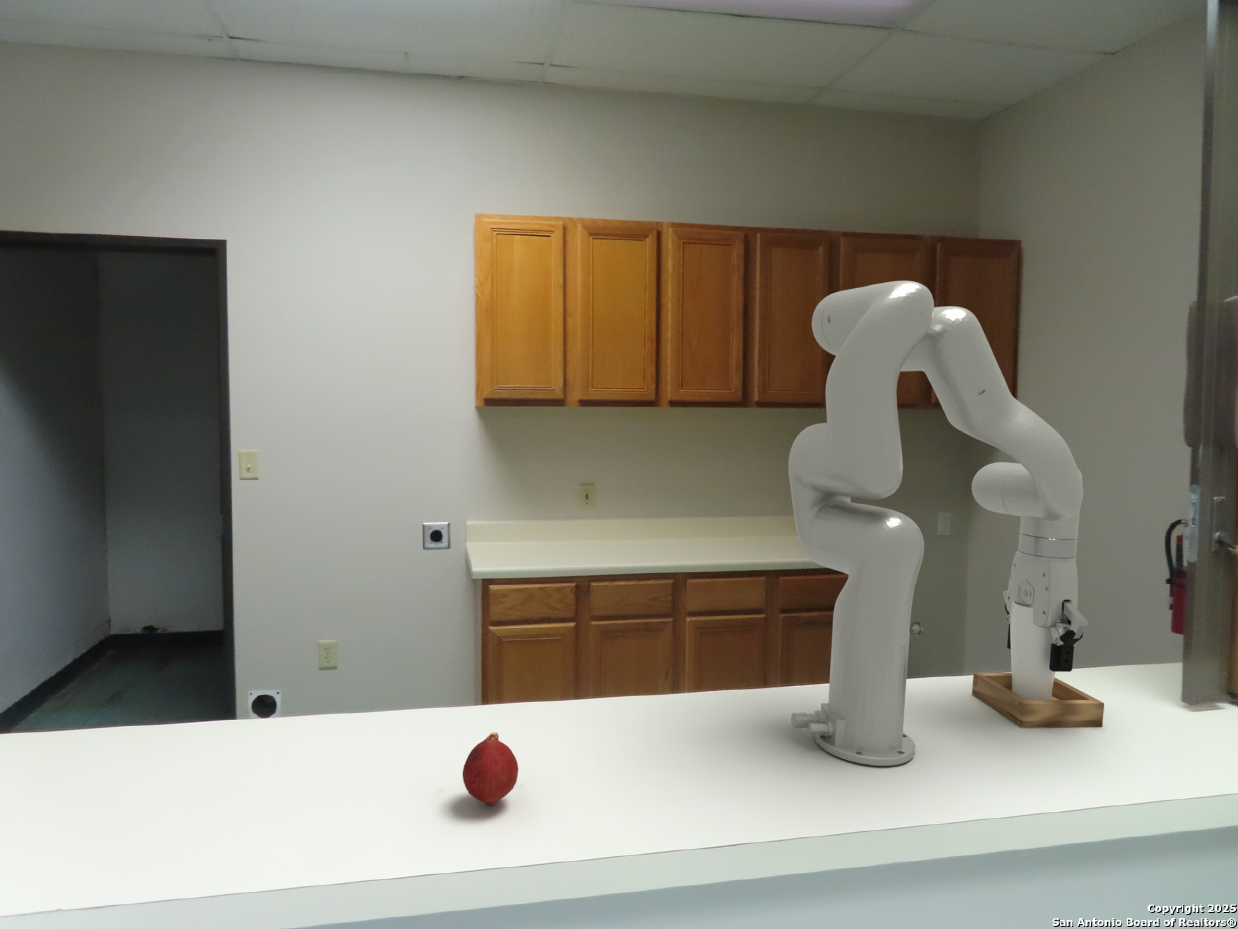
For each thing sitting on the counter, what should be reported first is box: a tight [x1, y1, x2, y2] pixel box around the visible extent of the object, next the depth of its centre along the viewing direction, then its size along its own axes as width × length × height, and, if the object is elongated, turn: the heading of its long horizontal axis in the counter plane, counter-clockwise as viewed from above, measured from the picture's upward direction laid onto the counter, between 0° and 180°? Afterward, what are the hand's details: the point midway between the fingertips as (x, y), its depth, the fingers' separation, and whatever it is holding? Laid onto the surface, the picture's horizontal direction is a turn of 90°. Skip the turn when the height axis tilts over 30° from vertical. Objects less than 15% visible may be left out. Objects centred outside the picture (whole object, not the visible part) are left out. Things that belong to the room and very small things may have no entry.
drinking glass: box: [1009, 601, 1063, 700], centre depth 113 cm, size 7×7×15 cm
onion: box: [462, 731, 519, 806], centre depth 81 cm, size 6×6×8 cm
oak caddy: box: [971, 672, 1105, 729], centre depth 113 cm, size 12×12×4 cm
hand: (1038, 659), depth 113 cm, fingers open, 9 cm apart
